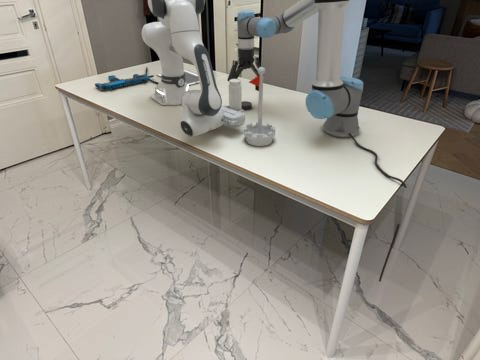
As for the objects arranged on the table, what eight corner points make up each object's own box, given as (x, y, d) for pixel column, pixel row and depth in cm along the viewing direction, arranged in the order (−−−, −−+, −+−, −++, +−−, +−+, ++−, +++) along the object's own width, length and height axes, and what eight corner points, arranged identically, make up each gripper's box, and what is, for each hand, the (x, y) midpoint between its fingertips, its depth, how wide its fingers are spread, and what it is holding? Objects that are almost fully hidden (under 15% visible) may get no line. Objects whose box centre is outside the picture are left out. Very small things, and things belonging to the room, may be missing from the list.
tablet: (156, 75, 222) (156, 74, 221) (183, 69, 233) (183, 69, 233) (183, 86, 201) (183, 86, 201) (210, 80, 212) (210, 79, 212)
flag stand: (266, 131, 149) (269, 61, 133) (280, 143, 139) (285, 69, 122) (239, 136, 145) (238, 64, 129) (250, 149, 135) (252, 73, 118)
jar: (233, 119, 160) (232, 77, 149) (243, 122, 158) (243, 79, 147) (227, 124, 156) (226, 81, 145) (237, 126, 154) (237, 83, 143)
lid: (241, 111, 170) (241, 106, 168) (236, 106, 175) (236, 102, 173) (254, 109, 172) (254, 104, 170) (248, 104, 177) (248, 100, 176)
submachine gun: (139, 68, 225) (158, 74, 208) (140, 74, 226) (158, 80, 210) (87, 78, 206) (103, 86, 189) (89, 84, 208) (104, 92, 191)
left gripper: (231, 117, 138) (254, 107, 146) (198, 104, 149) (220, 97, 158) (231, 131, 141) (253, 121, 150) (199, 118, 153) (221, 109, 161)
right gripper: (262, 43, 166) (261, 86, 177) (218, 50, 154) (221, 95, 165) (272, 45, 160) (270, 90, 172) (227, 52, 149) (229, 99, 160)
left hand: (236, 108), depth 154 cm, fingers closed on jar, 5 cm apart
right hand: (246, 93), depth 168 cm, fingers open, 13 cm apart
